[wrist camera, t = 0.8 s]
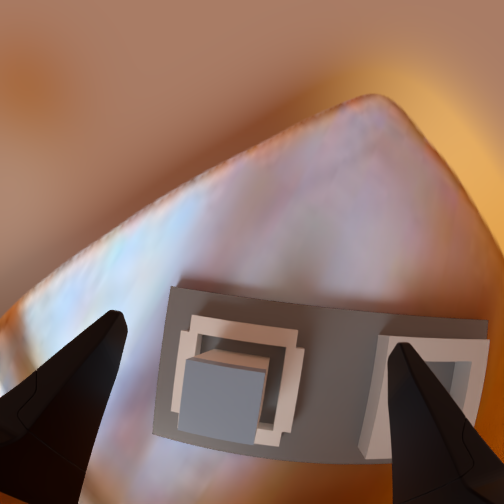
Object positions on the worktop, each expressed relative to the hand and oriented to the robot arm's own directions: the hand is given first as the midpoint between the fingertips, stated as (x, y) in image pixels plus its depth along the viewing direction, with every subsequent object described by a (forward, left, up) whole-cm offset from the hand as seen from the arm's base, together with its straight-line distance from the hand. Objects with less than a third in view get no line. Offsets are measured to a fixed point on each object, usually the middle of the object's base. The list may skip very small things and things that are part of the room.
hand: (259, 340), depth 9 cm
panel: (-4, -5, -14) cm, 15 cm away
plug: (-4, +2, -13) cm, 13 cm away
